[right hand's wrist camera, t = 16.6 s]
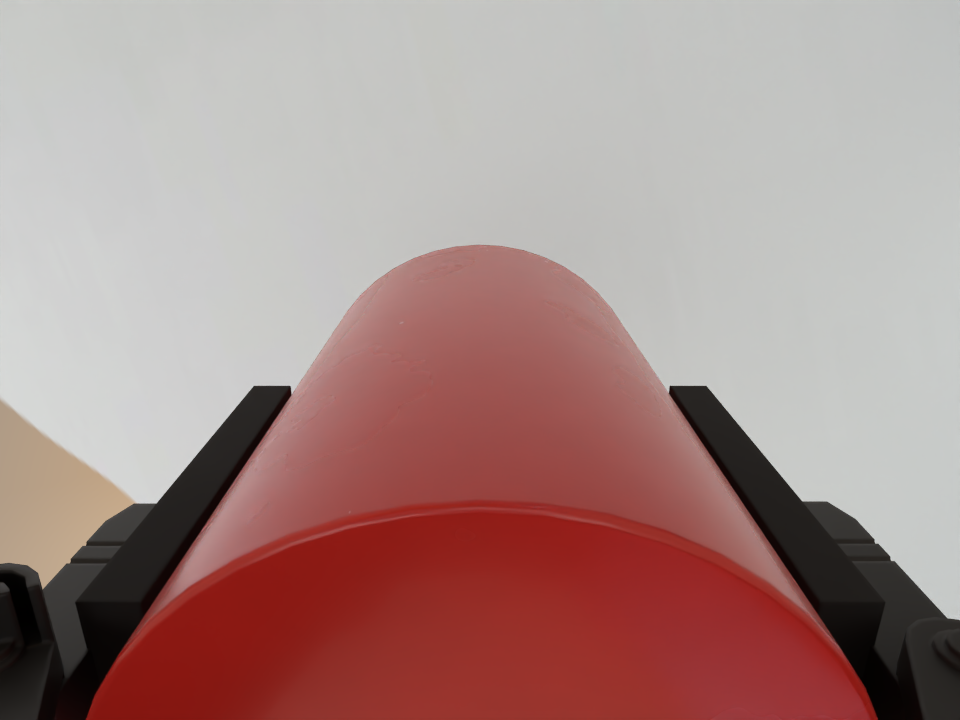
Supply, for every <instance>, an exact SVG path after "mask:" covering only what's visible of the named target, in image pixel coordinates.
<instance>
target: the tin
mask: <svg viewBox="0 0 960 720" xmlns="http://www.w3.org/2000/svg"><path fill="white" fill-rule="evenodd" d="M86 720H878V718H877V715H876V713H875V710H874V708H873V705H872V703H871V700H870V698H869V695H868V693H867V690H866V688H865V686H864V685H863V683H862V682H861V680H860V678H859V677H858V675H857V674H856V672H855V670H854V669H853V667H852V666H851V664H850V662H849V661H848V659H847V658H846V656H845V654H844V653H843V651H842V650H841V648H840V647H839V645H838V644H837V642H836V641H835V639H834V638H833V636H832V635H831V633H830V632H829V630H828V629H827V627H826V626H825V624H824V623H823V621H822V620H821V618H820V617H819V616H818V614H817V613H816V611H815V610H814V608H813V607H812V605H811V604H810V602H809V601H808V599H807V598H806V596H805V595H804V593H803V592H802V590H801V589H800V587H799V586H798V584H797V583H796V581H795V580H794V578H793V577H792V575H791V574H790V573H789V571H788V570H787V568H786V567H785V565H784V564H783V562H782V561H781V559H780V558H779V556H778V555H777V553H776V552H775V550H774V549H773V547H772V546H771V544H770V543H769V541H768V540H767V538H766V537H765V535H764V534H763V532H762V531H761V530H760V528H759V527H758V525H757V524H756V522H755V521H754V519H753V518H752V516H751V515H750V513H749V512H748V510H747V509H746V507H745V506H744V504H743V503H742V501H741V500H740V498H739V497H738V495H737V494H736V492H735V491H734V489H733V488H732V487H731V485H730V484H729V482H728V481H727V479H726V478H725V476H724V475H723V473H722V472H721V470H720V469H719V467H718V466H717V464H716V463H715V461H714V460H713V458H712V457H711V455H710V454H709V452H708V451H707V449H706V448H705V446H704V445H703V444H702V442H701V441H700V439H699V438H698V436H697V435H696V433H695V432H694V430H693V429H692V427H691V426H690V424H689V423H688V421H687V420H686V418H685V417H684V415H683V414H682V412H681V411H680V409H679V408H678V406H677V405H676V403H675V402H674V401H673V399H672V398H671V396H670V395H669V393H668V392H667V390H666V389H665V387H664V386H663V384H662V383H661V381H660V380H659V378H658V377H657V375H656V374H655V372H654V371H653V369H652V368H651V366H650V365H649V363H648V362H647V360H646V359H645V358H644V356H643V355H642V353H641V352H640V350H639V349H638V347H637V346H636V344H635V343H634V341H633V340H632V338H631V337H630V335H629V334H628V332H627V331H626V329H625V328H624V326H623V325H622V323H621V322H620V320H619V319H618V317H617V316H616V315H615V313H614V312H613V310H612V309H611V307H610V306H609V305H608V304H607V303H606V302H605V300H604V299H603V298H602V297H601V296H600V295H599V293H598V292H596V291H595V290H594V289H593V288H592V287H591V286H590V285H589V284H587V283H586V282H585V281H584V280H583V279H582V278H580V277H579V276H577V275H576V274H574V273H573V272H571V271H570V270H568V269H567V268H565V267H563V266H561V265H559V264H557V263H555V262H553V261H551V260H549V259H547V258H545V257H542V256H539V255H536V254H533V253H530V252H527V251H524V250H519V249H514V248H509V247H503V246H490V245H470V246H457V247H452V248H447V249H442V250H437V251H433V252H431V253H428V254H425V255H422V256H419V257H416V258H413V259H412V260H410V261H408V262H406V263H404V264H402V265H400V266H398V267H396V268H394V269H392V270H391V271H390V272H388V273H387V274H385V275H384V276H382V277H381V278H379V279H378V280H377V281H375V282H374V283H373V284H372V285H371V286H370V287H369V288H368V289H367V290H366V291H365V292H363V293H362V294H361V295H360V297H359V298H358V299H357V300H356V301H355V303H354V304H353V305H352V306H351V307H350V309H349V310H348V311H347V313H346V314H345V316H344V317H343V319H342V320H341V322H340V323H339V325H338V326H337V328H336V329H335V331H334V332H333V334H332V335H331V337H330V338H329V340H328V341H327V343H326V344H325V346H324V347H323V349H322V350H321V352H320V353H319V355H318V356H317V358H316V359H315V361H314V362H313V364H312V365H311V367H310V368H309V370H308V371H307V373H306V374H305V376H304V377H303V379H302V380H301V382H300V383H299V385H298V386H297V388H296V389H295V391H294V392H293V394H292V395H291V397H290V398H289V400H288V401H287V403H286V404H285V406H284V407H283V409H282V410H281V412H280V413H279V415H278V416H277V418H276V419H275V421H274V422H273V424H272V425H271V427H270V428H269V430H268V431H267V433H266V434H265V436H264V437H263V439H262V440H261V442H260V443H259V445H258V446H257V448H256V449H255V451H254V452H253V454H252V455H251V457H250V458H249V460H248V461H247V463H246V464H245V466H244V467H243V469H242V470H241V472H240V473H239V475H238V476H237V478H236V479H235V481H234V482H233V484H232V485H231V487H230V488H229V490H228V491H227V493H226V494H225V496H224V497H223V499H222V500H221V502H220V503H219V505H218V506H217V508H216V509H215V511H214V512H213V514H212V515H211V517H210V518H209V520H208V521H207V523H206V524H205V526H204V527H203V529H202V530H201V532H200V533H199V535H198V536H197V538H196V539H195V541H194V542H193V544H192V545H191V547H190V548H189V550H188V551H187V553H186V554H185V556H184V557H183V559H182V560H181V562H180V563H179V565H178V566H177V568H176V569H175V571H174V572H173V574H172V575H171V577H170V578H169V580H168V581H167V583H166V584H165V586H164V587H163V589H162V590H161V592H160V593H159V595H158V596H157V598H156V599H155V601H154V602H153V604H152V605H151V607H150V608H149V610H148V611H147V613H146V614H145V616H144V617H143V619H142V620H141V622H140V623H139V625H138V626H137V628H136V629H135V631H134V632H133V634H132V635H131V637H130V638H129V640H128V641H127V643H126V644H125V646H124V647H123V649H122V650H121V652H120V653H119V655H118V656H117V658H116V660H115V661H114V663H113V665H112V666H111V668H110V670H109V671H108V673H107V675H106V676H105V678H104V680H103V681H102V683H101V685H100V686H99V688H98V690H97V691H96V693H95V695H94V698H93V701H92V703H91V706H90V709H89V711H88V714H87V717H86Z"/></svg>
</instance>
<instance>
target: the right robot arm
mask: <svg viewBox="0 0 960 720" xmlns="http://www.w3.org/2000/svg"><path fill="white" fill-rule="evenodd" d="M669 395H670V396H671V398H672V399H673V401H674V402H675V403H676V405H677V406H678V408H679V409H680V411H681V412H682V414H683V415H684V417H685V418H686V420H687V421H688V423H689V424H690V426H691V427H692V429H693V430H694V432H695V433H696V435H697V436H698V438H699V439H700V441H701V442H702V444H703V445H704V446H705V448H706V449H707V451H708V452H709V454H710V455H711V457H712V458H713V460H714V461H715V463H716V464H717V466H718V467H719V469H720V470H721V472H722V473H723V475H724V476H725V478H726V479H727V481H728V482H729V484H730V485H731V487H732V488H733V489H734V491H735V492H736V494H737V495H738V497H739V498H740V500H741V501H742V503H743V504H744V506H745V507H746V509H747V510H748V512H749V513H750V515H751V516H752V518H753V519H754V521H755V522H756V524H757V525H758V527H759V528H760V530H761V531H762V532H763V534H764V535H765V537H766V538H767V540H768V541H769V543H770V544H771V546H772V547H773V549H774V550H775V552H776V553H777V555H778V556H779V558H780V559H781V561H782V562H783V564H784V565H785V567H786V568H787V570H788V571H789V573H790V574H791V575H792V577H793V578H794V580H795V581H796V583H797V584H798V586H799V587H800V589H801V590H802V592H803V593H804V595H805V596H806V598H807V599H808V601H809V602H810V604H811V605H812V607H813V608H814V610H815V611H816V613H817V614H818V616H819V617H820V618H821V620H822V621H823V623H824V624H825V626H826V627H827V629H828V630H829V632H830V633H831V635H832V636H833V638H834V639H835V641H836V642H837V644H838V645H839V647H840V648H841V650H842V651H843V653H844V654H845V656H846V658H847V659H848V661H849V662H850V664H851V666H852V667H853V669H854V670H855V672H856V674H857V675H858V677H859V678H860V680H861V682H862V683H863V685H864V686H865V688H866V690H867V693H868V695H869V698H870V700H871V703H872V705H873V708H874V710H875V713H876V715H877V718H878V720H960V620H955V619H947V618H946V616H945V615H944V614H943V613H942V612H941V611H940V610H939V609H938V608H937V607H936V606H935V605H934V603H933V602H932V601H931V600H930V599H929V598H928V597H927V596H926V595H925V594H924V593H923V592H922V591H921V589H920V588H919V587H918V586H917V585H916V584H915V583H914V582H913V581H912V580H911V579H910V578H909V576H908V575H907V574H906V573H905V572H904V571H903V570H902V569H901V568H900V567H899V566H898V565H897V563H896V562H895V561H891V560H890V556H889V555H888V554H887V553H886V552H885V551H884V549H883V548H882V547H881V546H880V545H879V544H875V542H874V539H873V538H872V536H871V535H870V534H869V533H868V532H867V531H866V530H865V529H864V528H863V527H862V526H861V525H860V523H859V522H858V521H857V520H856V519H854V518H853V517H851V516H850V515H848V514H846V513H845V512H843V511H841V510H840V509H838V508H836V507H835V506H833V505H832V504H830V503H828V502H802V501H801V500H800V498H799V497H798V496H797V495H796V494H795V492H794V491H793V490H792V489H791V488H790V486H789V485H788V484H787V483H786V481H785V480H784V479H783V478H782V477H781V475H780V474H779V473H778V472H777V471H776V469H775V468H774V467H773V466H772V465H771V463H770V462H769V461H768V460H767V459H766V457H765V456H764V455H763V454H762V453H761V451H760V450H759V449H758V448H757V447H756V445H755V444H754V443H753V442H752V441H751V439H750V438H749V437H748V436H747V434H746V433H745V432H744V431H743V430H742V428H741V427H740V426H739V425H738V424H737V422H736V421H735V420H734V419H733V418H732V416H731V415H730V414H729V413H728V412H727V410H726V409H725V408H724V407H723V406H722V404H721V403H720V402H719V401H718V400H717V398H716V397H715V396H714V395H713V393H712V392H711V391H710V390H709V389H708V387H707V386H670V389H669ZM290 397H291V386H254V387H253V388H252V389H251V390H250V392H249V393H248V394H247V395H246V396H245V398H244V399H243V400H242V401H241V402H240V404H239V405H238V406H237V407H236V408H235V410H234V411H233V412H232V413H231V414H230V416H229V417H228V418H227V419H226V420H225V422H224V423H223V424H222V425H221V426H220V428H219V429H218V430H217V431H216V433H215V434H214V435H213V436H212V437H211V439H210V440H209V441H208V442H207V443H206V445H205V446H204V447H203V448H202V449H201V451H200V452H199V453H198V454H197V455H196V457H195V458H194V459H193V460H192V461H191V463H190V464H189V465H188V466H187V468H186V469H185V470H184V471H183V472H182V474H181V475H180V476H179V477H178V478H177V480H176V481H175V482H174V483H173V484H172V486H171V487H170V488H169V489H168V490H167V492H166V493H165V494H164V495H163V496H162V498H161V499H160V500H159V501H158V502H157V504H133V505H131V506H129V507H128V508H126V509H125V510H123V511H121V512H120V513H118V514H117V515H115V516H113V517H112V518H110V519H108V520H107V521H105V522H104V523H103V525H102V526H101V527H100V528H99V529H98V530H97V531H96V532H95V533H94V534H93V535H92V537H91V538H90V539H89V540H88V541H87V544H86V546H82V547H81V549H80V550H79V551H78V552H77V553H76V554H75V555H74V556H73V557H72V558H71V562H70V564H66V565H65V566H64V567H63V568H62V569H61V570H60V571H59V573H58V574H57V575H56V576H55V577H54V578H53V579H52V580H51V581H50V582H49V583H48V584H47V586H46V587H45V588H44V589H43V590H42V586H41V582H40V579H39V575H38V573H37V572H36V571H34V570H33V569H32V568H30V567H29V566H27V565H20V564H12V563H5V564H0V720H86V717H87V714H88V711H89V709H90V706H91V703H92V701H93V698H94V695H95V693H96V691H97V690H98V688H99V686H100V685H101V683H102V681H103V680H104V678H105V676H106V675H107V673H108V671H109V670H110V668H111V666H112V665H113V663H114V661H115V660H116V658H117V656H118V655H119V653H120V652H121V650H122V649H123V647H124V646H125V644H126V643H127V641H128V640H129V638H130V637H131V635H132V634H133V632H134V631H135V629H136V628H137V626H138V625H139V623H140V622H141V620H142V619H143V617H144V616H145V614H146V613H147V611H148V610H149V608H150V607H151V605H152V604H153V602H154V601H155V599H156V598H157V596H158V595H159V593H160V592H161V590H162V589H163V587H164V586H165V584H166V583H167V581H168V580H169V578H170V577H171V575H172V574H173V572H174V571H175V569H176V568H177V566H178V565H179V563H180V562H181V560H182V559H183V557H184V556H185V554H186V553H187V551H188V550H189V548H190V547H191V545H192V544H193V542H194V541H195V539H196V538H197V536H198V535H199V533H200V532H201V530H202V529H203V527H204V526H205V524H206V523H207V521H208V520H209V518H210V517H211V515H212V514H213V512H214V511H215V509H216V508H217V506H218V505H219V503H220V502H221V500H222V499H223V497H224V496H225V494H226V493H227V491H228V490H229V488H230V487H231V485H232V484H233V482H234V481H235V479H236V478H237V476H238V475H239V473H240V472H241V470H242V469H243V467H244V466H245V464H246V463H247V461H248V460H249V458H250V457H251V455H252V454H253V452H254V451H255V449H256V448H257V446H258V445H259V443H260V442H261V440H262V439H263V437H264V436H265V434H266V433H267V431H268V430H269V428H270V427H271V425H272V424H273V422H274V421H275V419H276V418H277V416H278V415H279V413H280V412H281V410H282V409H283V407H284V406H285V404H286V403H287V401H288V400H289V398H290Z"/></svg>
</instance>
